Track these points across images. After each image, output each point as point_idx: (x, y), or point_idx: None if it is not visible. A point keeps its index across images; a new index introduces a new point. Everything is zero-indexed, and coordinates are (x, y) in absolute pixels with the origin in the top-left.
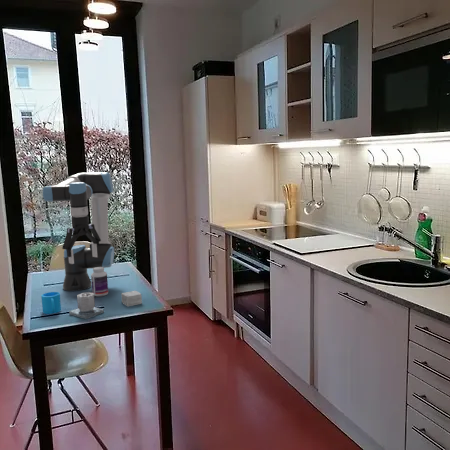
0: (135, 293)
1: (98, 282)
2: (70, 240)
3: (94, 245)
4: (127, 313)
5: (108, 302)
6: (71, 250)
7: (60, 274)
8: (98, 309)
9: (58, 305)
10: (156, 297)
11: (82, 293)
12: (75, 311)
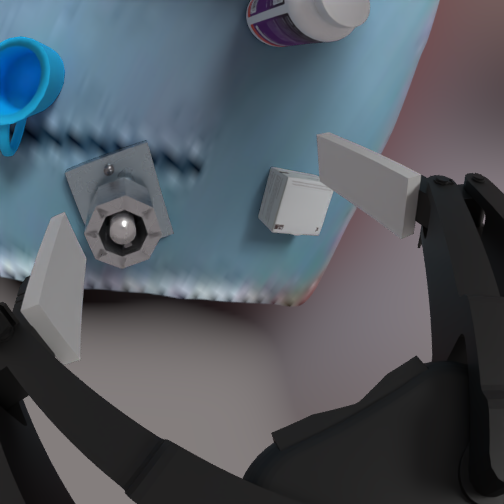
0: (312, 219)
1: (286, 33)
2: (61, 429)
3: (392, 218)
4: (222, 276)
5: (240, 128)
6: (62, 360)
7: None
8: (159, 221)
9: (41, 109)
10: None
11: (118, 205)
12: (83, 190)
